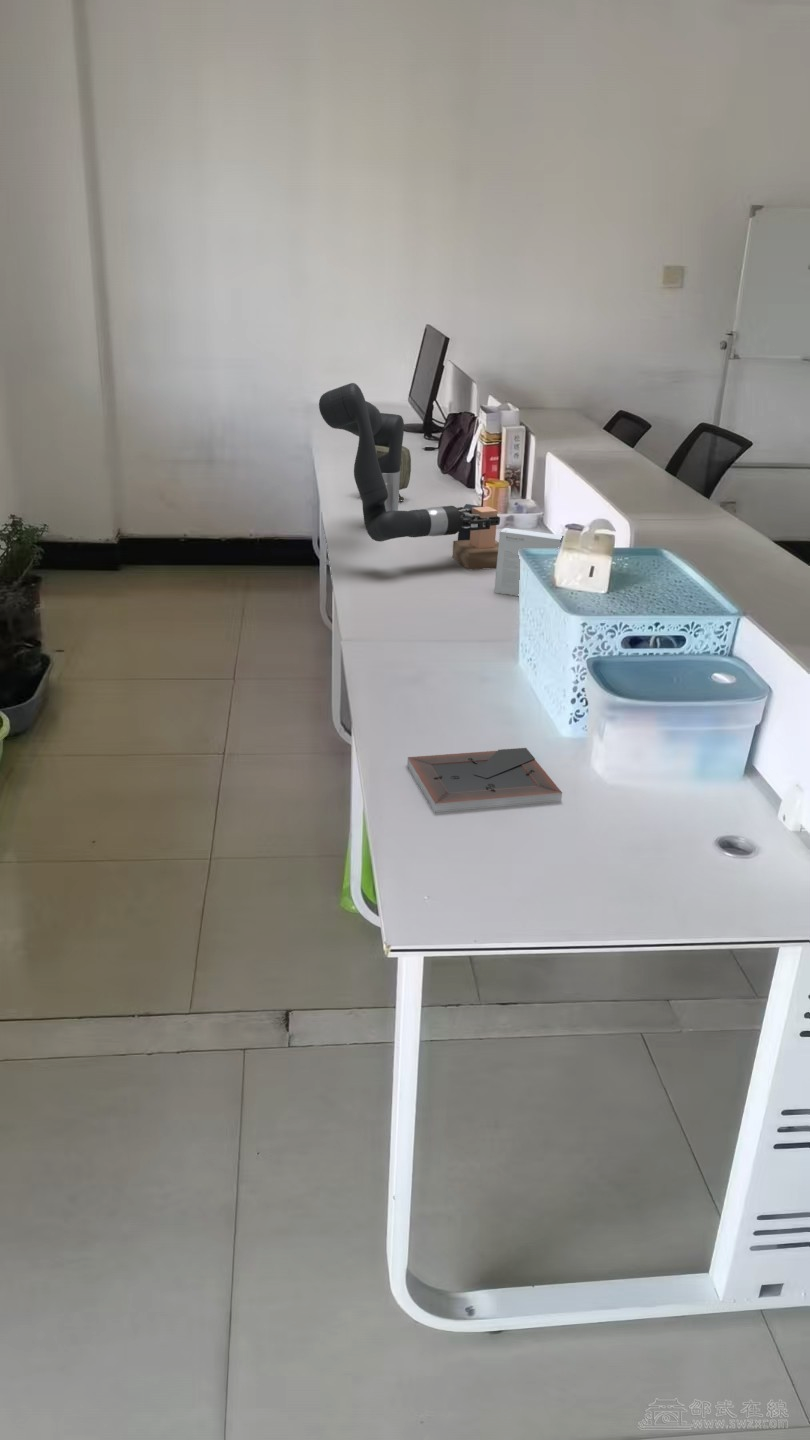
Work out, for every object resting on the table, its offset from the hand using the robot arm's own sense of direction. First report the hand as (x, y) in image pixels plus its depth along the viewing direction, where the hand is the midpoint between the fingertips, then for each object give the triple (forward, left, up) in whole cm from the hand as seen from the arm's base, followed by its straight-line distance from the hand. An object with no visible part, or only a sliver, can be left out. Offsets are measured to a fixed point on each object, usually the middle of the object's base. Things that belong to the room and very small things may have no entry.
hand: (490, 516), depth 298 cm
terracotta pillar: (0, -2, -8) cm, 8 cm away
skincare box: (+30, -5, -13) cm, 33 cm away
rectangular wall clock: (+109, -73, -13) cm, 132 cm away
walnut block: (0, -2, -13) cm, 13 cm away
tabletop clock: (-70, +6, -13) cm, 71 cm away
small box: (-16, +5, -13) cm, 21 cm away
